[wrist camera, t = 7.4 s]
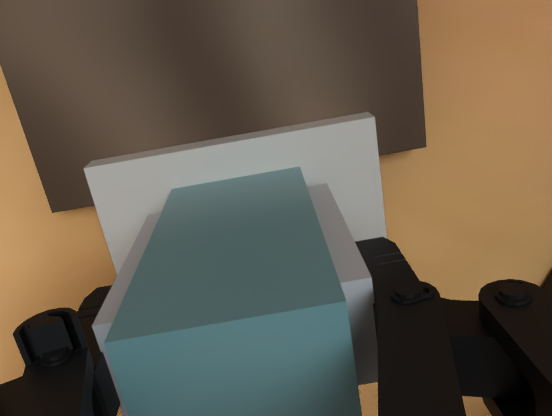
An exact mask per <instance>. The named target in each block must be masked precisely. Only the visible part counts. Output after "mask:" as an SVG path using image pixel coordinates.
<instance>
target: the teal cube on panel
mask: <svg viewBox="0 0 552 416" xmlns="http://www.w3.org/2000/svg"><path fill="white" fill-rule="evenodd" d="M83 169H84V172H85V176H86V179H87V182H88V185H89V188H90V191H91V195H92V198H93V201H94V204H95V207H96V210H97V214H98V217H99V220H100V223H101V226H102V230H103V233H104V236H105V239H106V242H107V245H108V249H109V252H110V255H111V258H112V261H113V264H114V268H115V271H116V274H117V275H118V273H119V271H120V269H121V267H122V265H123V263H124V261H125V259H126V257H127V255H128V253H129V251H130V249H131V247H132V245H133V243H134V241H135V239H136V237H137V236H138V234H139V232H140V230H141V228H142V226H143V224H144V222H145V220H146V218H147V216H148V215H149V214H154V213H160V212H161V215H160V217H159V219H158V221H157V224H156V226H155V228H154V230H153V233H152V235H151V237H150V240H149V242H148V244H147V246H146V249H145V251H144V253H143V255H142V258H141V260H140V262H139V264H138V267H137V269H136V271H135V273H134V276H133V278H132V280H131V282H130V285H129V287H128V289H127V292H126V294H125V296H124V298H123V301H122V303H121V305H120V307H119V310H118V312H117V314H116V316H115V319H114V321H113V323H112V325H111V328H110V330H109V332H108V335H107V337H106V339H105V341H104V345H105V348H106V351H107V354H108V357H109V360H110V363H111V366H112V369H113V372H114V374H115V377H116V380H117V383H118V386H119V389H120V392H121V395H122V398H123V401H124V404H125V406H126V409H127V412H128V415H129V416H362V412H361V405H360V397H359V390H358V383H357V375H356V368H355V361H354V353H353V346H352V339H351V331H350V324H349V317H348V309H347V302H346V299H345V296H344V293H343V290H342V287H341V284H340V281H339V278H338V275H337V272H336V270H335V267H334V264H333V261H332V258H331V255H330V252H329V249H328V246H327V244H326V241H325V238H324V235H323V232H322V229H321V226H320V223H319V220H318V218H317V215H316V212H315V209H314V206H313V203H312V200H311V197H310V194H309V192H308V189H307V187H308V186H314V185H319V184H325V183H327V184H328V186H329V188H330V191H331V193H332V195H333V197H334V199H335V201H336V203H337V205H338V207H339V210H340V212H341V214H342V216H343V218H344V220H345V222H346V224H347V226H348V229H349V231H350V233H351V235H352V237H353V239H354V241H361V240H367V239H373V238H378V237H384V238H386V239H387V235H386V225H385V215H384V205H383V195H382V185H381V174H380V164H379V154H378V144H377V134H376V124H375V117H374V116H373V115H372V114H371V113H369V112H364V113H358V114H353V115H347V116H341V117H336V118H330V119H324V120H319V121H313V122H307V123H302V124H296V125H290V126H285V127H279V128H273V129H268V130H262V131H257V132H251V133H245V134H240V135H234V136H228V137H223V138H217V139H211V140H206V141H200V142H194V143H189V144H183V145H177V146H172V147H166V148H161V149H155V150H149V151H144V152H138V153H132V154H127V155H121V156H115V157H110V158H104V159H98V160H93V161H91V162H90V163H89V164H88V165H86V166H85V167H84V168H83Z"/></svg>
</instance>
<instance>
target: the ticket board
mask: <svg viewBox="0 0 552 416" xmlns="http://www.w3.org/2000/svg"><path fill="white" fill-rule="evenodd" d="M0 64H1V67H2V70H3V73H4V76H5V79H6V82H7V85H8V87H9V90H10V93H11V96H12V99H13V102H14V105H15V107H16V110H17V113H18V116H19V119H20V122H21V125H22V128H23V130H24V133H25V136H26V139H27V142H28V145H29V148H30V150H31V153H32V156H33V159H34V162H35V165H36V168H37V171H38V173H39V176H40V179H41V182H42V185H43V188H44V191H45V193H46V196H47V199H48V202H49V205H50V208H51V211H52V213H54V212H60V211H66V210H71V209H77V208H83V207H88V206H94V205H95V204H94V201H93V198H92V195H91V191H90V188H89V185H88V182H87V179H86V176H85V172H84V169H83V168H84V167H85V166H86V165H88V164H89V163H90V162H91V161H93V160H98V159H104V158H110V157H115V156H121V155H127V154H132V153H138V152H144V151H149V150H155V149H161V148H166V147H172V146H177V145H183V144H189V143H194V142H200V141H206V140H211V139H217V138H223V137H228V136H234V135H240V134H245V133H251V132H257V131H262V130H268V129H273V128H279V127H285V126H290V125H296V124H302V123H307V122H313V121H319V120H324V119H330V118H336V117H341V116H347V115H353V114H358V113H364V112H369V113H371V114H372V115H373V116H374V117H375V124H376V134H377V144H378V154H379V155H384V154H389V153H395V152H401V151H406V150H412V149H418V148H423V147H426V132H425V117H424V101H423V85H422V70H421V54H420V38H419V22H418V7H417V0H0Z"/></svg>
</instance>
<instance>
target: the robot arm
mask: <svg viewBox="0 0 552 416" xmlns="http://www.w3.org/2000/svg"><path fill="white" fill-rule="evenodd" d="M307 189H308V192H309V194H310V197H311V200H312V203H313V206H314V209H315V212H316V215H317V218H318V220H319V223H320V226H321V229H322V232H323V235H324V238H325V241H326V244H327V246H328V249H329V252H330V255H331V258H332V261H333V264H334V267H335V270H336V272H337V275H338V278H339V281H340V284H341V287H342V290H343V293H344V296H345V299H346V302H347V309H348V317H349V324H350V331H351V339H352V346H353V353H354V361H355V368H356V375H357V383H358V385H362V384H368V383H373V382H378V416H466V413H465V409H464V404H463V399H462V396H473V397H482V398H483V401H484V404H485V405H486V407H487V408H488V410H489V412H490V413H491V415H492V416H552V274H551V275H550V277H549V279H548V280H547V282H546V284H545V286H544V287H543V289H542V288H541V287H539V286H537V285H536V284H532V283H529V282H526V281H523V280H515V279H507V280H498V281H495V282H491V283H488V284H486V285H485V286H484V287H482V288H481V290H480V292H479V301H460V300H449V299H445V298H441V297H440V294H439V292H438V291H437V289H436V288H435V287H434V286H432V285H430V284H429V283H426V282H422V281H419V279H418V278H417V276H416V275H415V273H414V271H413V270H412V268H411V267H410V265H409V264H408V262H407V261H406V260H405V258H404V256H403V255H402V254H401V251H400V250H399V248H398V247H397V245H396V244H395V243H394V242H392V241H390V240H388V239H386V238H384V237H378V238H373V239H367V240H361V241H354V239H353V237H352V235H351V233H350V231H349V229H348V226H347V224H346V222H345V220H344V218H343V216H342V214H341V212H340V210H339V207H338V205H337V203H336V201H335V199H334V197H333V195H332V193H331V191H330V188H329V186H328V184H327V183H325V184H319V185H314V186H308V187H307ZM160 215H161V212H160V213H154V214H149V215H148V216H147V218H146V220H145V222H144V224H143V226H142V228H141V230H140V232H139V234H138V236H137V237H136V239H135V241H134V243H133V245H132V247H131V249H130V251H129V253H128V255H127V257H126V259H125V261H124V263H123V265H122V267H121V269H120V271H119V273H118V275H117V277H116V279H115V281H114V283H113V285H111V286H105V287H99V288H96V289H95V290H94V291H93V292H92V293H91V294H89V295H88V296H87V297H86V298H85V299H84V300H83V302H82V304H81V306H80V307H79V309H78V310H79V311H77V312H76V311H75V310H73V309H71V308H56V309H51V310H47V311H45V312H42V313H39V314H37V315H35V316H33V317H31V318H29V319H27V320H26V321H24V322H23V323H22V324H21V325H19V326H18V327H17V328H16V330H15V331H14V333H13V336H14V338H15V341H16V343H17V346H18V348H19V350H20V353H21V355H22V358H23V360H24V363H25V365H26V367H25V370H24V373H23V376H22V377H19V378H17V379H14V380H12V381H9V382H6V383H3V384H0V416H116V415H117V412H118V409H119V406H120V409H121V411H122V414H123V416H129V415H128V412H127V409H126V406H125V404H124V401H123V398H122V395H121V392H120V389H119V386H118V383H117V380H116V377H115V374H114V372H113V369H112V366H111V363H110V360H109V357H108V354H107V351H106V348H105V345H104V341H105V339H106V337H107V335H108V332H109V330H110V328H111V325H112V323H113V321H114V319H115V316H116V314H117V312H118V310H119V307H120V305H121V303H122V301H123V298H124V296H125V294H126V292H127V289H128V287H129V285H130V282H131V280H132V278H133V276H134V273H135V271H136V269H137V267H138V264H139V262H140V260H141V258H142V255H143V253H144V251H145V249H146V246H147V244H148V242H149V240H150V237H151V235H152V233H153V230H154V228H155V226H156V224H157V221H158V219H159V217H160Z"/></svg>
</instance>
